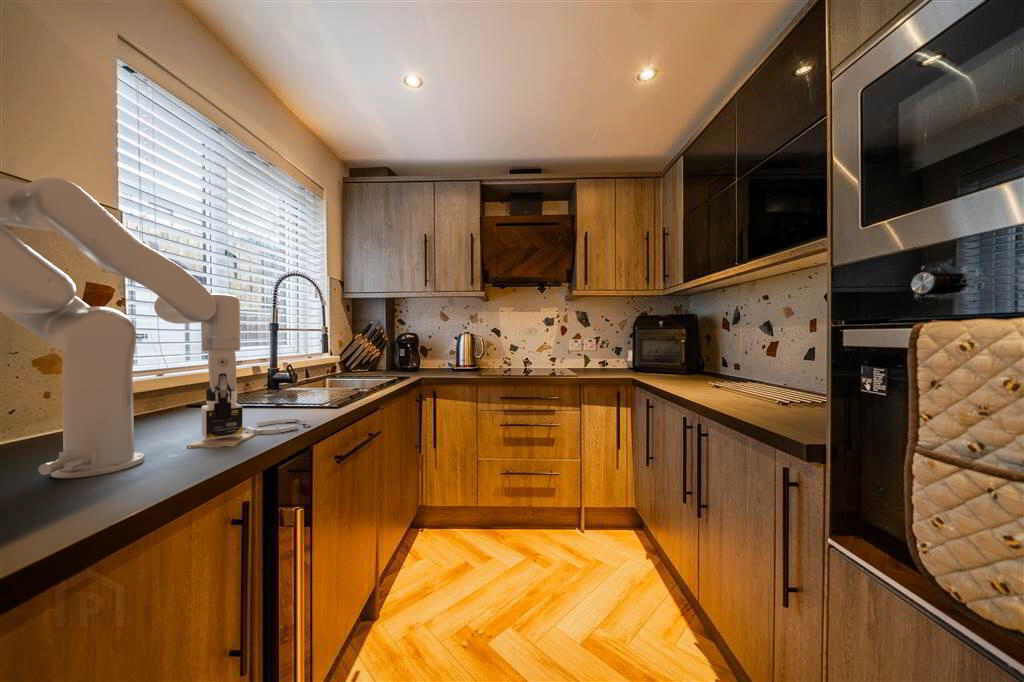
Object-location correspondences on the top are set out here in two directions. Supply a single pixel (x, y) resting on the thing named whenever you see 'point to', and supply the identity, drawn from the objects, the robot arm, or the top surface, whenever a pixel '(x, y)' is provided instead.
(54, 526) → the top surface
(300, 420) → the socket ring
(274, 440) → the top surface
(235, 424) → the medicine bottle
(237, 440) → the cork pad
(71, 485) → the top surface
